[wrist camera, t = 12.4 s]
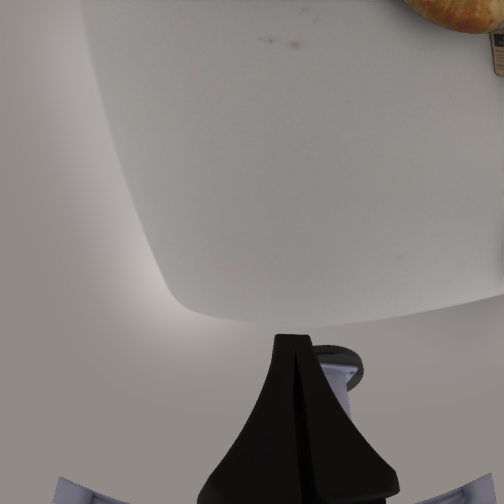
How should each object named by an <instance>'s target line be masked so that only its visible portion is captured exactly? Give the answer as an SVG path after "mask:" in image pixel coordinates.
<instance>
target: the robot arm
mask: <svg viewBox="0 0 504 504" xmlns="http://www.w3.org/2000/svg"><path fill="white" fill-rule="evenodd" d="M357 370H358V367H357V366H353V365H341V364H330V363H320V362H319V361H318V358H317V356H316V353H315V351H314V348H313V345H312V342H311V339H310V336H309V335H297V334H277V335H275V338H274V346H273V353H272V359H271V365H270V368H269V371H268V374H267V377H266V380H265V383H264V385H263V388H262V390H261V393H260V395H259V398H258V400H257V402H256V404H255V406H254V409H253V410H252V412H251V414H250V416H249V418H248V420H247V422H246V424H245V426H244V427H243V429H242V431H241V432H240V434H239V436H238V437H237V439H236V440H235V442H234V444H233V445H232V447H231V448H230V449H229V451H228V453H227V454H226V455H225V457H224V458H223V459H222V461H221V462H220V463H219V465H218V466H217V467H216V469H215V470H214V471H213V472H212V474H211V475H210V476H209V478H208V480H207V481H206V483H205V485H204V486H203V488H202V490H201V491H200V493H199V495H198V499H197V504H386V498H388V497H391V496H393V495H396V494H398V493H399V491H400V487H399V481H398V478H397V475H396V472H395V470H394V469H393V468H392V467H390V465H388V464H387V463H386V462H385V461H384V460H383V459H382V458H381V457H380V456H379V455H378V453H377V452H376V451H375V450H374V449H373V448H372V447H371V446H370V444H369V443H368V442H367V441H366V440H365V438H364V437H363V436H362V435H361V433H360V432H359V431H358V430H357V428H356V427H355V425H354V424H353V423H352V421H351V414H350V407H349V399H348V393H347V386H346V384H347V382H348V381H349V380H350V379H351V378H352V376H353V375H354V374H355V373H356V372H357ZM52 504H129V503H126V502H122V501H119V500H116V499H113V498H110V497H107V496H105V495H102V494H99V493H97V492H94V491H92V490H90V489H88V488H86V487H83V486H81V485H78V484H76V483H74V482H71V481H69V480H67V479H65V478H63V477H59V479H58V483H57V487H56V491H55V494H54V499H53V503H52ZM415 504H496V497H495V491H494V485H493V480H492V474H491V473H489V474H487V475H485V476H482V477H481V478H478V479H476V480H474V481H472V482H470V483H468V484H466V485H464V486H462V487H459V488H457V489H455V490H452V491H450V492H447V493H445V494H442V495H439V496H437V497H434V498H431V499H428V500H425V501H422V502H419V503H415Z"/></svg>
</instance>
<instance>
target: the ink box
mask: <svg viewBox="0 0 504 504" xmlns="http://www.w3.org/2000/svg"><path fill="white" fill-rule="evenodd" d="M490 34H491V40H492V47H493V54H494V64H495V73H496V74H497V75H499V76H501V77H504V29H495V30H494V31H492V32H490Z"/></svg>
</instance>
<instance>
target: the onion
mask: <svg viewBox="0 0 504 504" xmlns="http://www.w3.org/2000/svg"><path fill="white" fill-rule="evenodd" d="M404 1H405V2H406V3H407V4H408V5H409V6H410V7H411V8H412V9H413V10H414V11H416V12H417V13H418V14H419V15H421V16H422V17H423V18H425V19H427V20H429V21H431V22H433V23H435V24H437V25H439V26H441V27H444V28H446V29H449V30H452V31H457V32H464V33H470V34H483V33H488V32H492V31H494V30H495V29H496V28H498V26H499V24H500V23H501V22H502V21H503V20H504V0H404Z"/></svg>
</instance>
